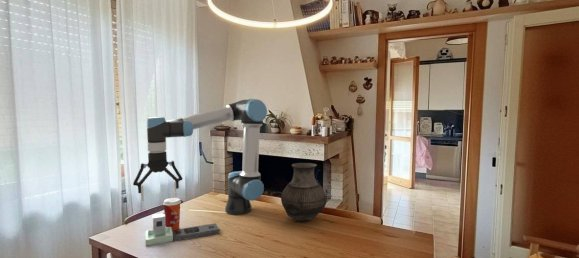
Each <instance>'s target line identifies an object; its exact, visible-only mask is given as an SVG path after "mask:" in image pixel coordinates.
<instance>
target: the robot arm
mask: <svg viewBox="0 0 579 258" xmlns="http://www.w3.org/2000/svg"><path fill="white" fill-rule="evenodd" d="M267 115H268V109H267V105H266V104H265V103H264V102H263V101H262V100H260V99H255V98H250V99H240V100H238V101H236V102H233V103H230V104H226V105H225V106H224V107H219V108H216V109H212V110H207V111H204V112H199V113H195V114H191V115H187V116H183V117H179V118H174V119H168V120H166V118H165V117H164V116H162V117H161V116H153V117H152V116H151V117H148V118H147V119H146V135H147V137H146V138H147V151H148V153H147V158H148V160H147V161H148V162H147V163H144V162H142V163H140V168H139V170H138V172H137V175H136V176H135V178H134V180H133V183H132V184H133V186H136V187H137V193H138V194H141V195H140V196H141V202H143V201H144V200H145V199H144V198H145V197H144V184H143V183H145V181H146V180H147V179H148V177H149V176H150V175H151V174H152V173H158V172H159V173H163V172H165V173H166V174H167V175H168V176H169V177H171V179H173V180H174V181H173V195H174V196H173V197H174V198H177V190H178V189H179V187H180V185H179V183H180V182H181V181H182V180H183V177H182V175H181V173H180V171H179V170H178V168H177V166H176V165H175V161H174V160H171V161H168V159H167V158H168V157H167V156H168V155H167V138H180V137H181V138H182V137H183V138H186V137H191V136H192V135H193V133H194V130H197V129H200V128H205V127H209V126H212V125H216V124H219V123H223V122H227V121H229V122H235V121H240V124H241V125H242V127H243V138H242V139H243V142H242V162H241V163H242V164H241V165H242V167H241V169H242V170H239V171H232V172H229V173H228V176H227V184H228V185H227V189H228V190H227V193H228V196H227V197H228V198H227V202H226V204H225V208H224V209H225V210H224V211H225V213H226V214H228V215H231V216H232V215H233V216H235V215H236V216H238V215H240V216H241V215H246V214H249V213H250V212H252V204H251V201H257V200H258V199H260V198H261V196H262V195H263V193H264V191H265V187H264V183H263V181H261V178H262V177H261V176H262V175H261V173H260V172H259V159H260V158H259V156H260V133H261V132H260V130H261V127H262V126H263V125H264V124H263V123H264V119H266V117H267ZM168 165H169V166H170V167H172V169H173V170H174V172H175V174H176V176H175V174H174V173H172V172H171V171H170V170H169V169H168V168H167V167H168ZM146 168H148V171H147V172H146V173H145V174H144V176H143V177H142V178H141V179H140V177H141V175H142V174H143V171H144V169H146ZM139 180H140V181H139Z"/></svg>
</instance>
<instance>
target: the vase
mask: <svg viewBox="0 0 579 258" xmlns="http://www.w3.org/2000/svg"><path fill="white" fill-rule="evenodd" d="M317 166H318V164H317V163H311V162H296V163H292V164H291V167H292V168H293V175H292V179H291V181H290V182H288V184H286V186H285V188H283V190H282V192H281V195H280V201H281V206H282V207H283V209H284V211H285V213H286V215H287V216H288V217H289V218H291V219H292V220H294V221H295V220H296V221H299V222H307V221H310V220H313V219H315V217H316V216H318V215H319V214H320V213H321V212H322V211H323V210H324V208H325V207H326V205H327V201H328V200H327V199H328V198H327V194H326V192H325V190H324V189H323V187H322V185H321V184H320V183H319V182H317V179H316V177H315V169H316V167H317Z"/></svg>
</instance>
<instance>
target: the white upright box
mask: <svg viewBox="0 0 579 258" xmlns="http://www.w3.org/2000/svg"><path fill="white" fill-rule="evenodd" d="M152 226H153V227H152V229H153V238H155V237H161V236H166V228H165V227H166V225H165V213H164V212H162V213H155V214H152Z"/></svg>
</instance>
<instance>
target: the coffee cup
mask: <svg viewBox="0 0 579 258" xmlns="http://www.w3.org/2000/svg"><path fill="white" fill-rule="evenodd" d="M181 204H182V201H181V198H178V197H170V198H166V199H164V201H163V204H162V205H163V210H164V212H163V213H165V227H171V228H172V233H173V230H176V229H180V223H181V222H180V221H181V215H180V214H181Z"/></svg>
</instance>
